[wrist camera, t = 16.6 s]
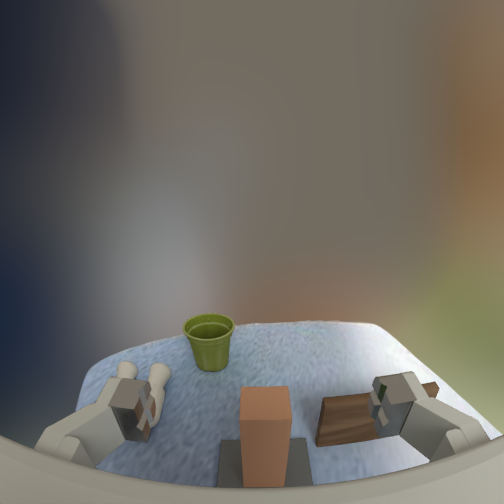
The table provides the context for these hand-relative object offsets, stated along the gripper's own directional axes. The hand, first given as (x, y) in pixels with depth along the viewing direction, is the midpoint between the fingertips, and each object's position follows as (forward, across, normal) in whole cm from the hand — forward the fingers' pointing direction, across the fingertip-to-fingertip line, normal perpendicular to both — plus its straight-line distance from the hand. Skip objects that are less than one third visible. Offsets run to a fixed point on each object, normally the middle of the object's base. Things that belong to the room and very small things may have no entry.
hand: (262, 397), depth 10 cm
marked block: (+15, 0, -30) cm, 33 cm away
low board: (+20, +17, -30) cm, 40 cm away
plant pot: (+41, -9, -31) cm, 52 cm away
